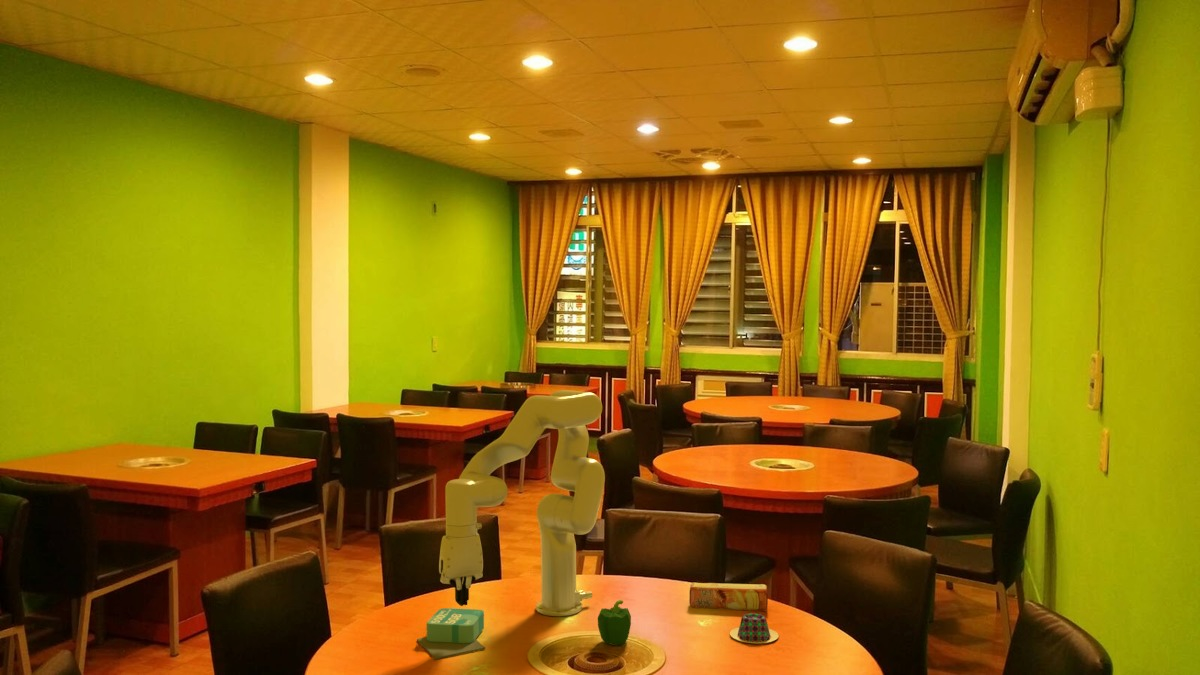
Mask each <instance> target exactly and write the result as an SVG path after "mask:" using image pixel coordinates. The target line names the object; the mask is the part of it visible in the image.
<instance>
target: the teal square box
mask: <svg viewBox="0 0 1200 675" xmlns="http://www.w3.org/2000/svg"><path fill="white" fill-rule="evenodd" d="M484 629H485V612H484V610H483V609H472V608H471V609H470V608H453V607H452V608H451V607H450V608H448V607H445V608H440V609H438V610H437V611H436V612H435V614H433V616H431V618H429V619H428V620H427V621H426V637H427V641H429V642H445V643H472V642H474V640H475V639H476V640H477V638H478V637H479V635H480V634H481V633H482V631H483V630H484Z"/></svg>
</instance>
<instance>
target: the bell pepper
mask: <svg viewBox="0 0 1200 675" xmlns="http://www.w3.org/2000/svg"><path fill="white" fill-rule="evenodd" d="M623 603H624V600H622V599H618V600H617V601H616V602H615V603H614V605H613V607H611V608H601V610H600V611H599V614H598V616H597V628H598V630H599V635H600V637H601V639H602V642H604V644H607V645H612V646H616V647H617V646H622V645H625V644H626V642H627V641H628V639H629V634H630V629H631V626H632V625H631V624H632V622H631V620H632V616H631V613H630V611H629V609H628V607H627V608H626V607H625V608H622V607H620V605H622V604H623Z"/></svg>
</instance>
